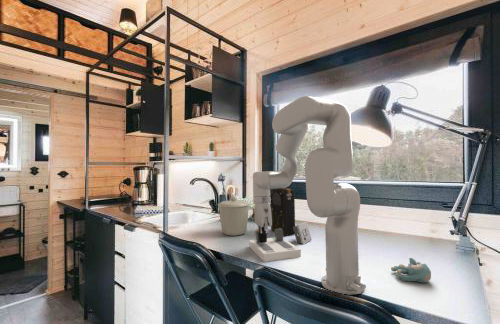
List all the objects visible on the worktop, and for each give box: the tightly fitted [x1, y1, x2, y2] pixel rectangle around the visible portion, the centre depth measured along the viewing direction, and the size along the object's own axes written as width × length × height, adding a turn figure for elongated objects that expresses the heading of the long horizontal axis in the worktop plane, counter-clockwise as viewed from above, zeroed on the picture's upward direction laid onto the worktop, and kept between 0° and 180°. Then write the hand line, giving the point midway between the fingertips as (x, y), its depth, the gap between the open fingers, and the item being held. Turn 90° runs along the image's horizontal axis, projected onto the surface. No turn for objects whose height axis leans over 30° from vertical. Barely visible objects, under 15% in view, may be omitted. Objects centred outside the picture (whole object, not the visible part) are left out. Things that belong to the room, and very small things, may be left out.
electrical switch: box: [293, 221, 312, 245], centre depth 128 cm, size 9×5×9 cm, turn 141°
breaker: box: [274, 228, 284, 241], centre depth 119 cm, size 2×3×5 cm, turn 107°
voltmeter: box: [270, 187, 296, 237], centre depth 145 cm, size 16×9×25 cm, turn 25°
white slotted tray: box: [248, 237, 302, 263], centre depth 114 cm, size 20×16×3 cm
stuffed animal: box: [390, 257, 432, 283], centre depth 85 cm, size 11×7×12 cm
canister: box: [217, 195, 251, 237], centre depth 145 cm, size 18×18×21 cm
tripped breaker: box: [255, 228, 260, 243], centre depth 117 cm, size 2×3×6 cm, turn 107°
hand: (262, 241), depth 113 cm, fingers closed
